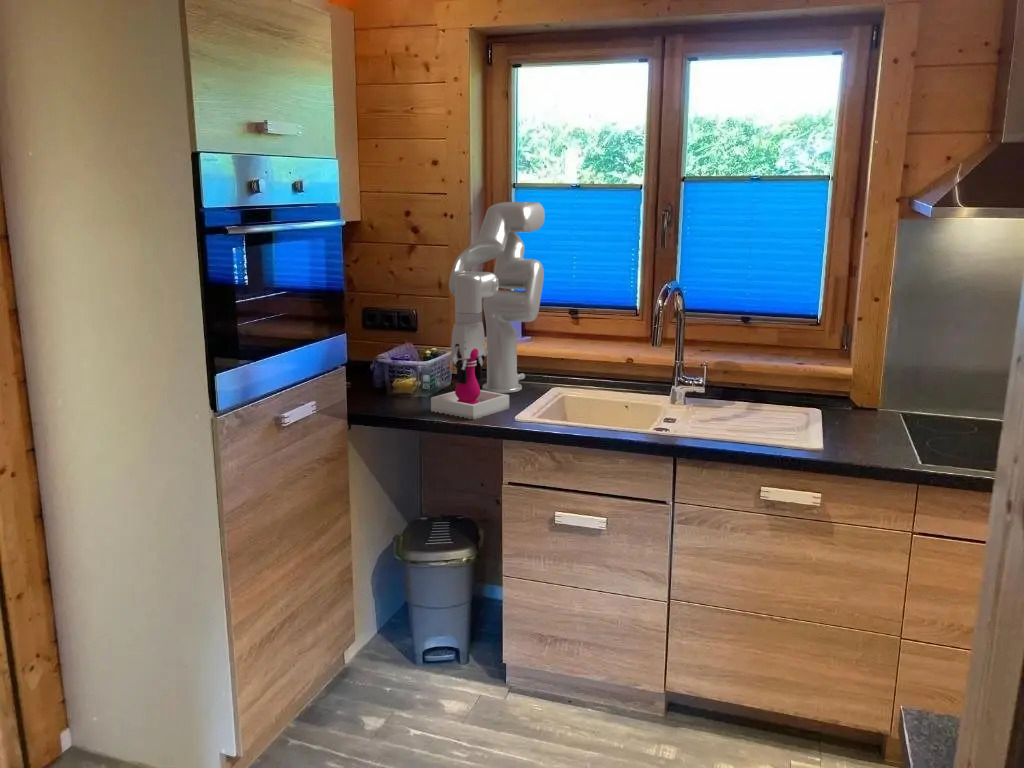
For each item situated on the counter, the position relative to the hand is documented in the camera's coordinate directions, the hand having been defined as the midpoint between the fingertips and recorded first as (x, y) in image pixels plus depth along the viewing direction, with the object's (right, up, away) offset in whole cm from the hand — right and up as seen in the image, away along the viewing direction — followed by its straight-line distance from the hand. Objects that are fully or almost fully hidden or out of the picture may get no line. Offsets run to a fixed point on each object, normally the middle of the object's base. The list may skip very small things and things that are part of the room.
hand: (469, 380), depth 239 cm
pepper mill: (-1, -8, +1) cm, 8 cm away
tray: (0, -8, +2) cm, 9 cm away
